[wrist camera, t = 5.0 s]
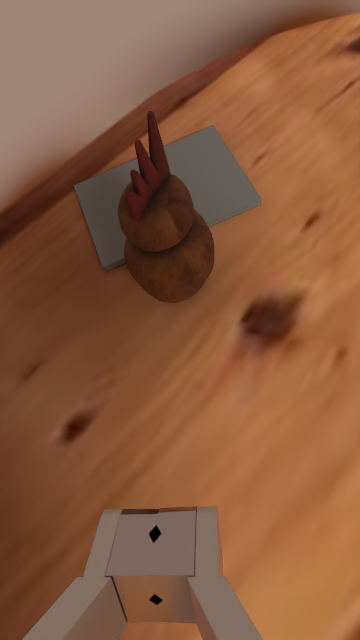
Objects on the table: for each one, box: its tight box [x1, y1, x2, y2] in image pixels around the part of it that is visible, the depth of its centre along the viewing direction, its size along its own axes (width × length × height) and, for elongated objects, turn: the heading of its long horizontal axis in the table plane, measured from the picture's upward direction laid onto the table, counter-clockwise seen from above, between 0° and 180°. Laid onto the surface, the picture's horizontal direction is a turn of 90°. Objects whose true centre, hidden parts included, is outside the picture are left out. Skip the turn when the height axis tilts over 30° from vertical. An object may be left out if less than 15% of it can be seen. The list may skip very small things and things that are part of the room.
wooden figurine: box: [118, 111, 214, 303], centre depth 24 cm, size 7×6×15 cm
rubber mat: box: [74, 126, 261, 271], centre depth 34 cm, size 11×16×1 cm
